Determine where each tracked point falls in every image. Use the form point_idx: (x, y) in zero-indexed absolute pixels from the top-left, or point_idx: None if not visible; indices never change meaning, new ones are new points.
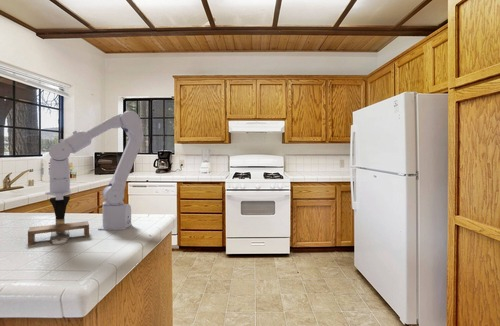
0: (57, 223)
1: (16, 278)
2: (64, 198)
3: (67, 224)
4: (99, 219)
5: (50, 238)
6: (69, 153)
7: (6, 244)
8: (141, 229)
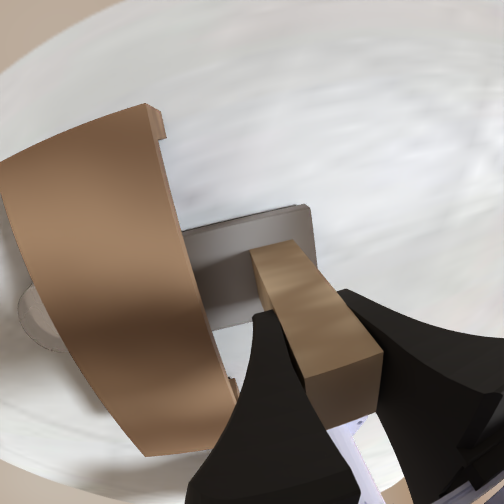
0: (263, 292)
1: None
2: (426, 487)
3: (176, 375)
4: None
5: None
6: None
7: (115, 12)
8: None
